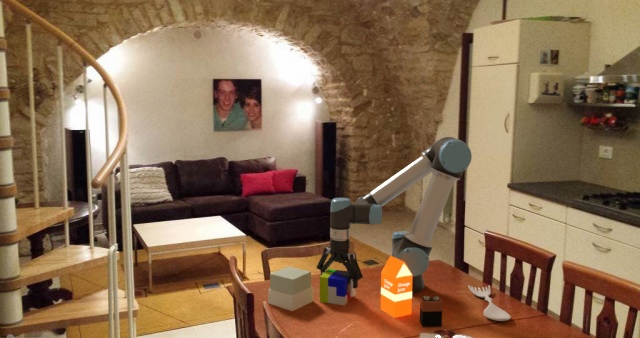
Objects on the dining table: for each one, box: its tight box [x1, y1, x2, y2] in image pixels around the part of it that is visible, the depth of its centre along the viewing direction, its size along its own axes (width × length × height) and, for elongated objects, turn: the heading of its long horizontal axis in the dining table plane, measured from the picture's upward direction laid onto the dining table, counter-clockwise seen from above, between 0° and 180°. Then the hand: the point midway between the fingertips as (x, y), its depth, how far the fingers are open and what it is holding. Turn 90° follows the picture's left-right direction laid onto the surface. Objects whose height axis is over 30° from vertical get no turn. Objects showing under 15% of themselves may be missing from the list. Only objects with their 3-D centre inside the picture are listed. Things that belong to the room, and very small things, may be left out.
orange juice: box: [380, 255, 413, 319], centre depth 197 cm, size 8×9×20 cm
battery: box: [419, 295, 443, 328], centre depth 186 cm, size 4×7×10 cm, turn 94°
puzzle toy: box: [319, 268, 352, 306], centre depth 210 cm, size 10×10×10 cm
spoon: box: [467, 284, 512, 322], centre depth 203 cm, size 9×32×4 cm, turn 178°
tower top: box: [269, 265, 312, 295], centre depth 206 cm, size 11×11×6 cm
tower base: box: [267, 286, 314, 312], centre depth 207 cm, size 12×12×6 cm
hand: (338, 291), depth 211 cm, fingers open, 13 cm apart
